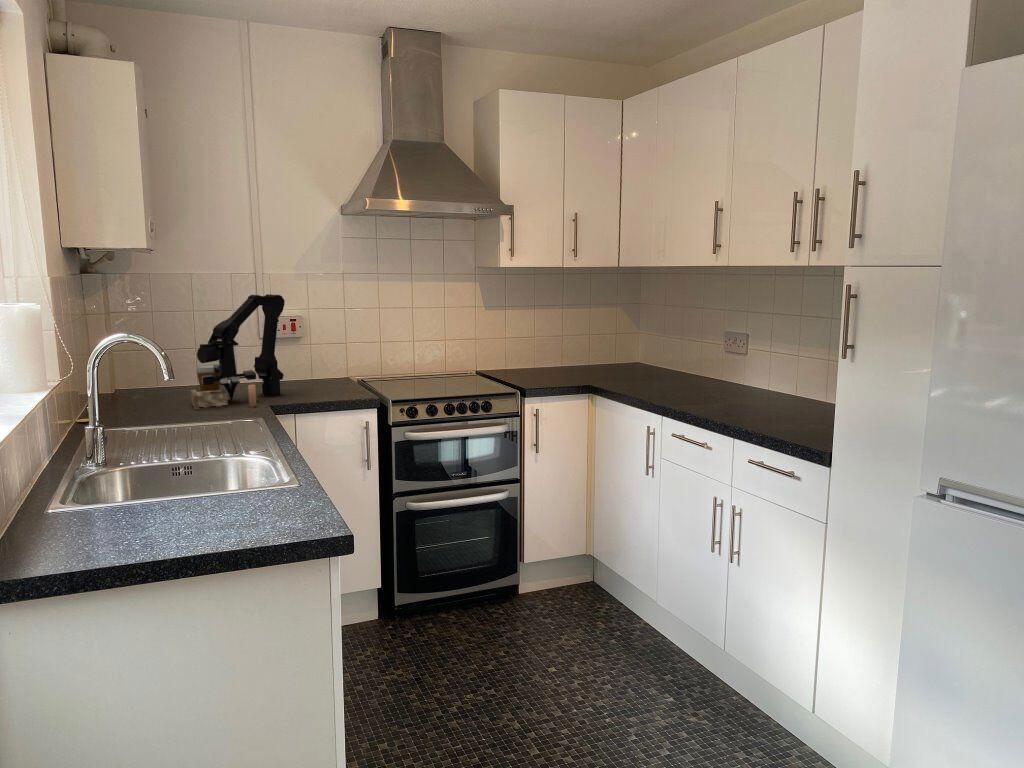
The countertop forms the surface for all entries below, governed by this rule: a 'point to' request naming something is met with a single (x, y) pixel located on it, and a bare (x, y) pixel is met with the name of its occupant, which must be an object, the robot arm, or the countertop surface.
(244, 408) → the countertop surface
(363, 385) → the countertop surface
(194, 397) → the wall
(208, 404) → the block
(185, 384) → the countertop surface
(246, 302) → the robot arm
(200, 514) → the countertop surface
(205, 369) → the disposable coffee cup
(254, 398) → the dowel
